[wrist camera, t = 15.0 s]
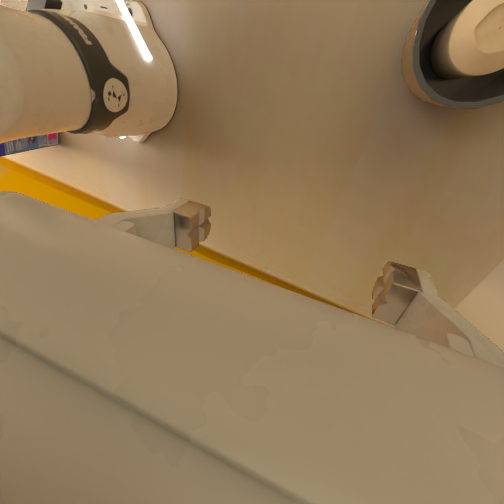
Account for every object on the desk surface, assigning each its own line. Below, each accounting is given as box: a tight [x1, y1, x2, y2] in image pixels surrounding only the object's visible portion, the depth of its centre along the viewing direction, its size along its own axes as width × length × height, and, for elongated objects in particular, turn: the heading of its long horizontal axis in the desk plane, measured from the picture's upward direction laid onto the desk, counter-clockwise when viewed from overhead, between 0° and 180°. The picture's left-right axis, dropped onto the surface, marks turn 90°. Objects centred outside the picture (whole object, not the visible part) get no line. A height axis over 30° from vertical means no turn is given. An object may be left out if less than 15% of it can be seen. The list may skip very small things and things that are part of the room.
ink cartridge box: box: [0, 133, 58, 156], centre depth 47 cm, size 10×6×14 cm, turn 61°
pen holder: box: [402, 0, 504, 109], centre depth 22 cm, size 11×11×9 cm
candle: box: [430, 0, 504, 79], centre depth 21 cm, size 6×6×10 cm
